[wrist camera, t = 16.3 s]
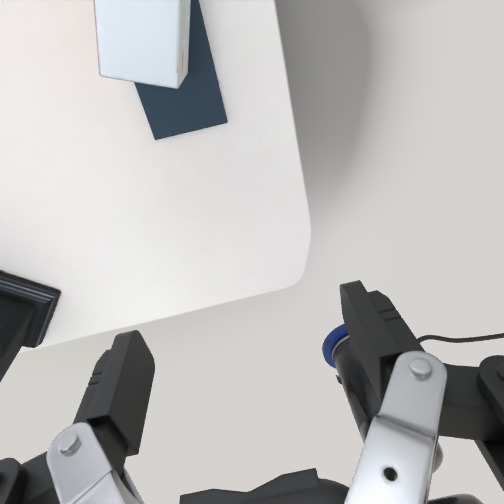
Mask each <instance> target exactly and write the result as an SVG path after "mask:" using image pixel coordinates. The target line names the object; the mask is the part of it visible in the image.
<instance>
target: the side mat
mask: <svg viewBox="0 0 504 504" xmlns="http://www.w3.org/2000/svg"><path fill="white" fill-rule="evenodd" d="M134 83H135V86H136V88H137V91H138V94H139V97H140V99H141V102H142V105H143V108H144V110H145V113H146V116H147V119H148V122H149V124H150V127H151V130H152V133H153V135H154V138H155V140H158V139H162V138H166V137H170V136H174V135H178V134H182V133H187V132H191V131H195V130H199V129H203V128H207V127H211V126H216V125H220V124H224V123H227V118H226V114H225V110H224V105H223V101H222V97H221V93H220V89H219V84H218V80H217V76H216V72H215V68H214V63H213V59H212V55H211V51H210V47H209V42H208V38H207V34H206V30H205V26H204V21H203V17H202V13H201V9H200V5H199V0H191V2H190V27H189V51H188V74H187V75H186V77H185V78H184V80H183V81H182V83H181V85H180V86H179V88H177V89H176V88H169V87H163V86H156V85H150V84H144V83H138V82H134Z"/></svg>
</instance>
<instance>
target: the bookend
mask: <svg viewBox="0 0 504 504" xmlns="http://www.w3.org/2000/svg"><path fill="white" fill-rule="evenodd" d="M60 293H61V292H60V291H58V290H55V289H52V288H49V287H46V286H43V285H40V284H36V283H33V282H30V281H27V280H24V279H21V278H17V277H14V276H11V275H8V274H5V273H2V272H0V382H1V380H2V378H3V377H4V375H5V373H6V372H7V370H8V368H9V366H10V365H11V363H12V362H13V360H14V358H15V357H16V355H17V353H18V352H19V350H20V348H21V347H22V346H25V347H32V348H35V347H37V346H38V345H40V344H41V343H42V342H43V339H44V336H45V334H46V331H47V329H48V326H49V323H50V320H51V319H52V317H53V312H54V311H55V307H56V305H57V302H58V299H59V296H60Z"/></svg>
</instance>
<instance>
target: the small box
mask: <svg viewBox="0 0 504 504" xmlns="http://www.w3.org/2000/svg"><path fill="white" fill-rule="evenodd" d="M190 2H191V0H94V11H95V23H96V35H97V48H98V60H99V75H100V76H102V77H107V78H113V79H119V80H125V81H131V82H138V83H144V84H150V85H156V86H163V87H169V88H176V89H177V88H179V86H180V85H181V83H182V81H183V80H184V78H185V77H186V75H187V74H188V51H189V27H190Z"/></svg>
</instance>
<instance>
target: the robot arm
mask: <svg viewBox="0 0 504 504" xmlns="http://www.w3.org/2000/svg"><path fill="white" fill-rule="evenodd" d="M340 295H341V305H342V314H343V319H344V323H345V326H346V329H347V331H348V333H347V334H345V335H344V336H342V337H341V338H339V339H338V340H337V341H336V342H335V343H334V345H333V347H332V349H331V356H332V359H333V362H334V363H335V366H336V369H337V371H338V374H339V377H338V376H337V375H336V376H337V379H338V382H339V383H340V384H342V385H343V388H344V391H345V393H346V396H347V399H348V402H349V404H350V407H351V410H352V412H353V415H354V418H355V420H356V423H357V426H358V429H359V432H360V434H361V437H362V440H363V442H364V446H363V449H362V452H361V455H360V458H359V461H358V464H357V467H356V470H355V473H354V476H353V479H352V483H351V485H350V488H349V487H347V486H345V485H343V484H340V483H338V482H335V481H331V480H327V479H320V478H318V476H317V471H316V468H313V469H308V470H303V471H298V472H293V473H288V474H283V475H281V476H279V477H277V478H275V479H273V480H271V481H269V482H267V483H265V484H264V485H262V486H259V487H258V488H256V489H254V490H252V491H249V492H239V491H229V490H219V489H209V490H205V491H200V492H195V493H190V494H185V495H181V496H180V504H483V503H482V502H481V501H480V500H479V499H477V498H476V497H475V496H473V495H470V494H457V495H451V496H446V497H441V498H437V499H432V500H428V496H429V489H430V484H431V477H432V474H433V473H434V472H435V471H436V470H437V469H438V468H439V466H440V465H441V463H442V460H443V452H442V449H441V447H440V445H439V443H438V439H439V435H440V436H448V437H455V438H464V439H471V440H474V441H475V443H476V444H477V446H478V448H479V450H480V451H481V453H482V455H483V456H484V458H485V460H486V462H487V463H488V465H489V467H490V468H491V470H492V472H493V473H494V475H495V477H496V479H497V480H498V482H499V484H500V486H501V487H502V489H503V491H504V356H503V355H496V356H490V357H487V358H485V359H484V360H483V361H482V362H481V363H480V366H479V367H469V366H456V365H450V364H445V363H442V362H441V361H440V360H439V359H438V358H437V357H435V356H433V355H431V354H429V353H426V352H425V351H424V349H423V348H422V346H421V345H420V342H422V341H424V340H428V339H435V340H440V341H446V342H454V343H462V342H474V341H483V340H490V339H498V338H504V333H502V334H495V335H488V336H481V337H473V338H458V339H455V338H446V337H441V336H435V335H426V336H422V337H420V338H418V339H416V338H415V336H414V335H413V333H412V332H411V330H410V329H409V327H408V326H407V324H406V323H405V321H404V320H403V318H401V315H400V314H399V313H398V311H397V310H396V309H395V307H394V305H393V304H392V302H391V301H390V299H389V298H388V297H387V296H385V295H383V294H382V293H380V292H379V291H377V290H376V291H372V292H367V291H366V289H365V287H364V286H363V284H362V283H361V281H360V280H358V281H354V282H349V283H345V284H341V285H340ZM154 372H155V363H154V358H153V356H152V354H151V352H150V350H149V348H148V347H147V345H146V343H145V341H144V339H143V337H142V336H141V334H140V332H139V331H137V330H134V331H130V332H125V333H121V334H118V335H117V336H116V337H115V339H114V342H113V345H112V348H111V349H110V350H106V351H105V353H104V354H103V355H102V357H100V359H99V360H98V361H97V363H96V365H95V368H94V371H93V373H92V377H91V378H90V381H89V383H88V385H89V386H88V387H87V389H86V391H85V394H84V396H83V399H82V401H81V404H80V407H79V409H78V412H77V414H76V417H75V420H74V422H73V424H72V425H71V426H69V427H67V428H66V429H64V430H63V431H62V432H60V433H59V434H58V435H57V436H56V438H55V439H54V440H53V441H52V443H51V444H50V446H49V448H48V451H46V452H45V453H43V454H41V455H39V456H37V457H35V458H33V459H31V460H29V461H27V462H25V463H23V464H20V463H19V462H18V461H17V460H15V459H14V458H5V459H3V460H0V504H144V502H143V500H142V498H141V496H140V495H139V493H138V491H137V489H136V487H135V485H134V484H133V482H132V480H131V478H130V476H129V474H128V473H127V471H126V469H125V468H124V463H125V458H126V457H127V456H132V455H137V454H138V453H139V448H140V442H141V438H142V433H143V428H144V423H145V418H146V412H147V408H148V403H149V397H150V392H151V387H152V382H153V377H154Z"/></svg>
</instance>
